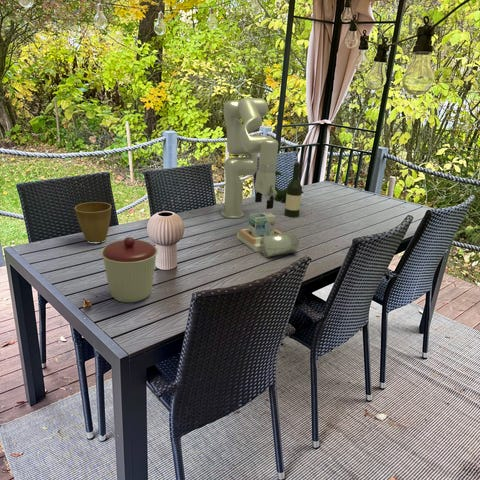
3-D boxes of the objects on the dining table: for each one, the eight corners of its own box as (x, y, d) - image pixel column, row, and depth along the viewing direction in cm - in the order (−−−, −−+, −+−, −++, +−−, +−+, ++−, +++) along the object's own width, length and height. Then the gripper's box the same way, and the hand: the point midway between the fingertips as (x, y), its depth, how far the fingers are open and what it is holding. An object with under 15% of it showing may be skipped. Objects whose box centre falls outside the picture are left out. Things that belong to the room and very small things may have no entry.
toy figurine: (265, 201, 267) (298, 207, 252) (265, 171, 261) (299, 175, 246) (273, 198, 274) (307, 204, 258) (274, 169, 268) (308, 173, 252)
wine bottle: (282, 216, 235) (287, 162, 224) (286, 212, 243) (292, 160, 232) (296, 218, 233) (303, 164, 222) (300, 214, 240) (306, 162, 229)
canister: (92, 301, 139) (87, 241, 131) (124, 278, 155) (122, 224, 147) (139, 314, 133) (137, 253, 125) (167, 289, 149) (167, 234, 141)
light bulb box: (254, 240, 191) (256, 218, 187) (247, 235, 196) (249, 213, 192) (274, 238, 196) (276, 215, 192) (266, 233, 201) (268, 211, 197)
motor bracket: (235, 237, 200) (237, 219, 197) (267, 233, 208) (268, 216, 205) (267, 260, 177) (269, 241, 174) (300, 254, 186) (303, 235, 182)
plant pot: (103, 232, 196) (101, 199, 190) (119, 242, 186) (117, 208, 180) (71, 239, 186) (68, 205, 180) (87, 250, 176) (84, 214, 170)
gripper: (249, 163, 189) (247, 200, 196) (270, 173, 175) (266, 212, 182) (264, 163, 192) (260, 199, 199) (285, 172, 179) (281, 210, 185)
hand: (263, 205), depth 190 cm, fingers open, 9 cm apart
